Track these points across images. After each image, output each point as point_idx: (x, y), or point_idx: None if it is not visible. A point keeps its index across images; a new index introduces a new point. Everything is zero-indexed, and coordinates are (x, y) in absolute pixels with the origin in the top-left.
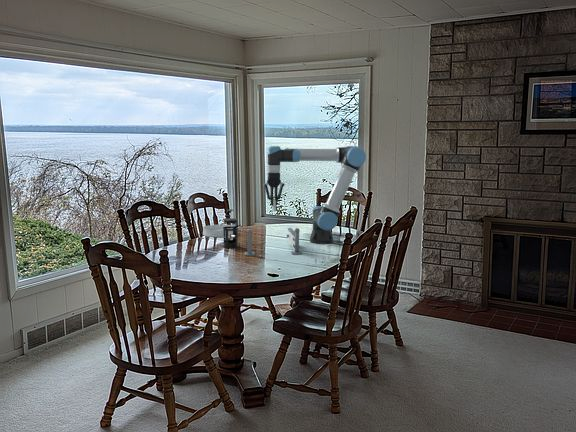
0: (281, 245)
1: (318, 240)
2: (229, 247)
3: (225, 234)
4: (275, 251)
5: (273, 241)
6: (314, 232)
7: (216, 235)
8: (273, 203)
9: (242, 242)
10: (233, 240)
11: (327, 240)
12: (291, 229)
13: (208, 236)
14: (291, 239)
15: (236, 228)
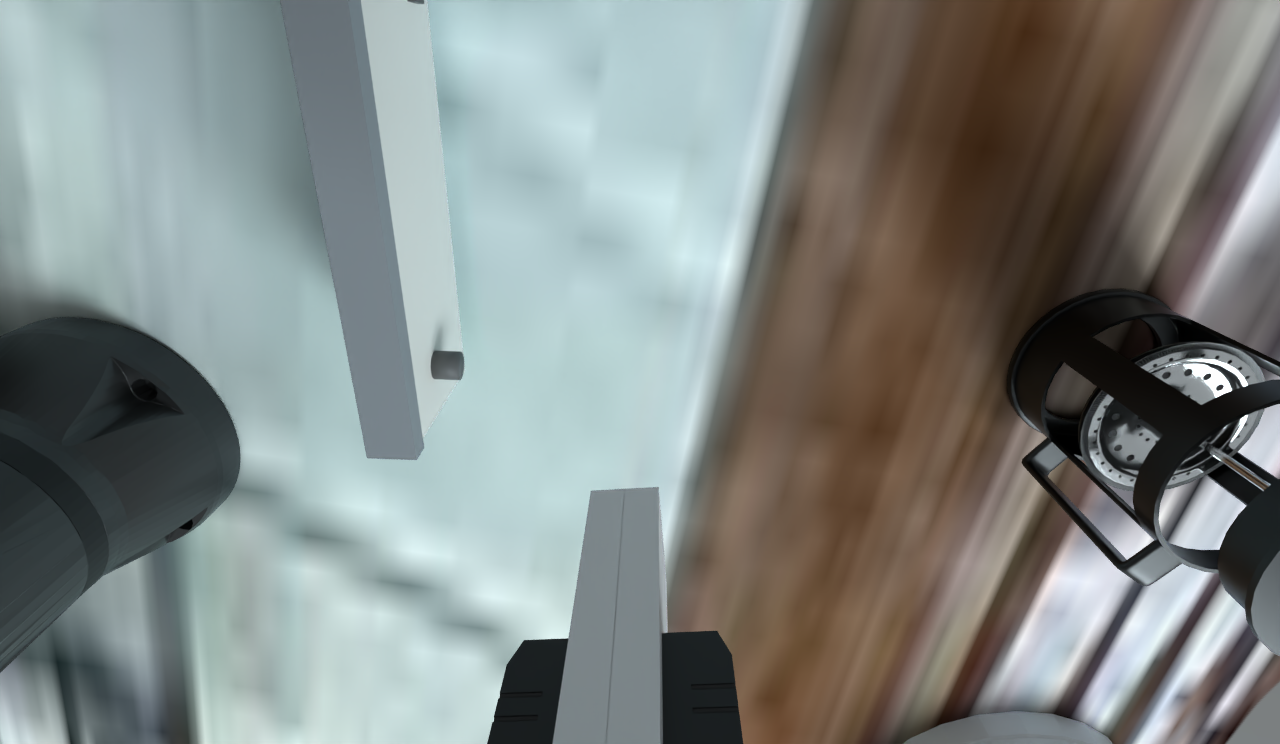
0: (548, 327)
1: (114, 347)
2: (1143, 295)
3: (986, 735)
4: (668, 18)
5: None
6: (106, 449)
7: (1064, 729)
8: (651, 680)
9: (906, 514)
10: (1065, 447)
11: (9, 333)
12: (365, 349)
13: (1110, 741)
14: (415, 170)
15: (1211, 426)
